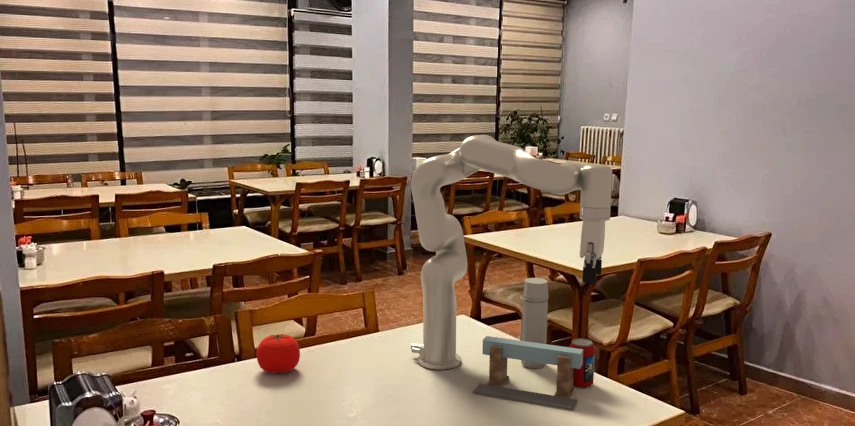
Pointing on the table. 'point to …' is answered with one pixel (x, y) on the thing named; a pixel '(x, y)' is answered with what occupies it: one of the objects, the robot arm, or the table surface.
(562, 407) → the mat
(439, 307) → the robot arm
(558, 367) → the post
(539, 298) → the water bottle
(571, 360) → the rail
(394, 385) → the table surface
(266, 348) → the tomato
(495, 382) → the post
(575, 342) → the beverage can
